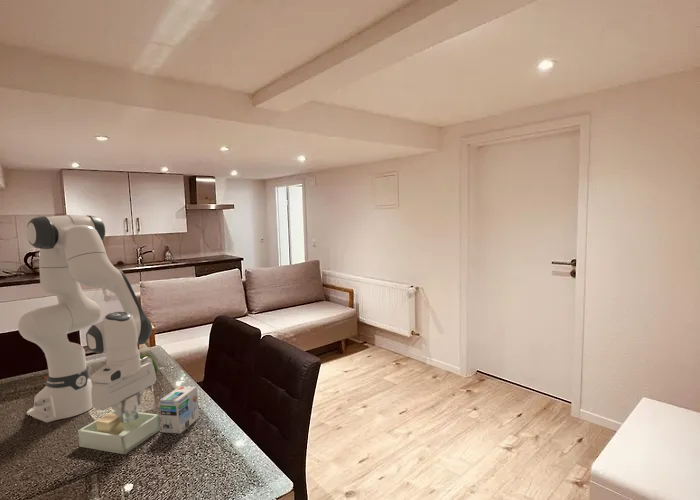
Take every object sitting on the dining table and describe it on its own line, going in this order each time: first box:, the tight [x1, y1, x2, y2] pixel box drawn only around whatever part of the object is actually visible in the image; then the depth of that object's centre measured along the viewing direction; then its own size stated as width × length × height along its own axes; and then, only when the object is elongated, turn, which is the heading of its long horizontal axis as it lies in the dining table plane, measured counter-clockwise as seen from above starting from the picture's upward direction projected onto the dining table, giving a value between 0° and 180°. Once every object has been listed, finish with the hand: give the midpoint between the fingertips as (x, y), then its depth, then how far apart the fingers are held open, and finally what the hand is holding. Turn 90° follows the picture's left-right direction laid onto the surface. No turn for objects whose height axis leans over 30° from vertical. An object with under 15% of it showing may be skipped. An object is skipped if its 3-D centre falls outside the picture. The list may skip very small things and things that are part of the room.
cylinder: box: [119, 394, 140, 423], centre depth 122 cm, size 5×5×7 cm
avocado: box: [140, 353, 159, 376], centre depth 168 cm, size 8×8×12 cm
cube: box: [95, 412, 124, 435], centre depth 125 cm, size 5×5×5 cm
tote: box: [77, 410, 162, 455], centre depth 124 cm, size 18×14×5 cm
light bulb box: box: [159, 385, 200, 434], centre depth 130 cm, size 11×7×11 cm, turn 168°
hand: (128, 410), depth 122 cm, fingers closed on cylinder, 5 cm apart
